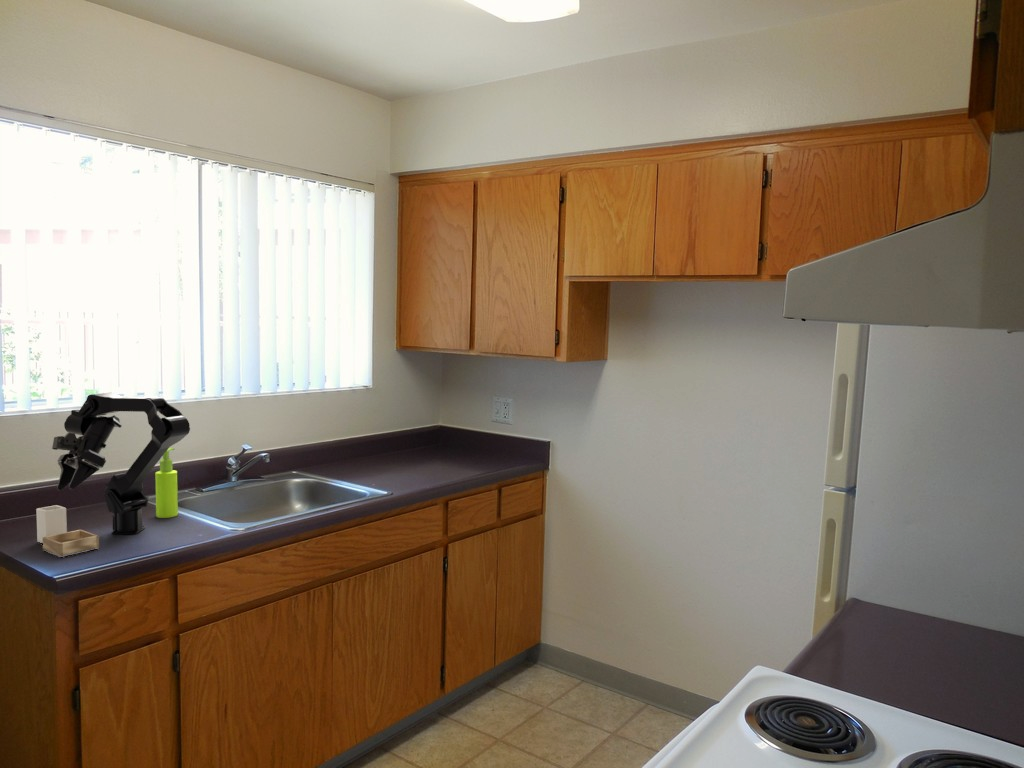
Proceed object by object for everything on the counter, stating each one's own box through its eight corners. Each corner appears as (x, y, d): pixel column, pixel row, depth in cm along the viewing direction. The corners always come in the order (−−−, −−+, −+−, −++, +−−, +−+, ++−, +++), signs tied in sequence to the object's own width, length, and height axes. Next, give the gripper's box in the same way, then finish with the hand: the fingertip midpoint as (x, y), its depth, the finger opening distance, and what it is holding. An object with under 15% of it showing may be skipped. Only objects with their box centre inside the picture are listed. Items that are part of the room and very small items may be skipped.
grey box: (58, 538, 199) (57, 505, 199) (67, 541, 197) (66, 507, 196) (37, 542, 195) (36, 508, 195) (46, 546, 193) (45, 511, 192)
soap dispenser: (182, 512, 229) (181, 446, 227) (173, 517, 222) (171, 450, 221) (162, 511, 229) (161, 446, 227) (152, 517, 222) (151, 450, 220)
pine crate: (81, 542, 196) (80, 529, 196) (99, 549, 191) (98, 535, 191) (42, 551, 189) (42, 537, 188) (60, 558, 183) (59, 544, 183)
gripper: (55, 426, 208) (23, 477, 201) (79, 419, 196) (46, 473, 189) (93, 445, 215) (63, 495, 208) (119, 439, 202) (88, 493, 195)
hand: (64, 489), depth 200 cm, fingers open, 9 cm apart
